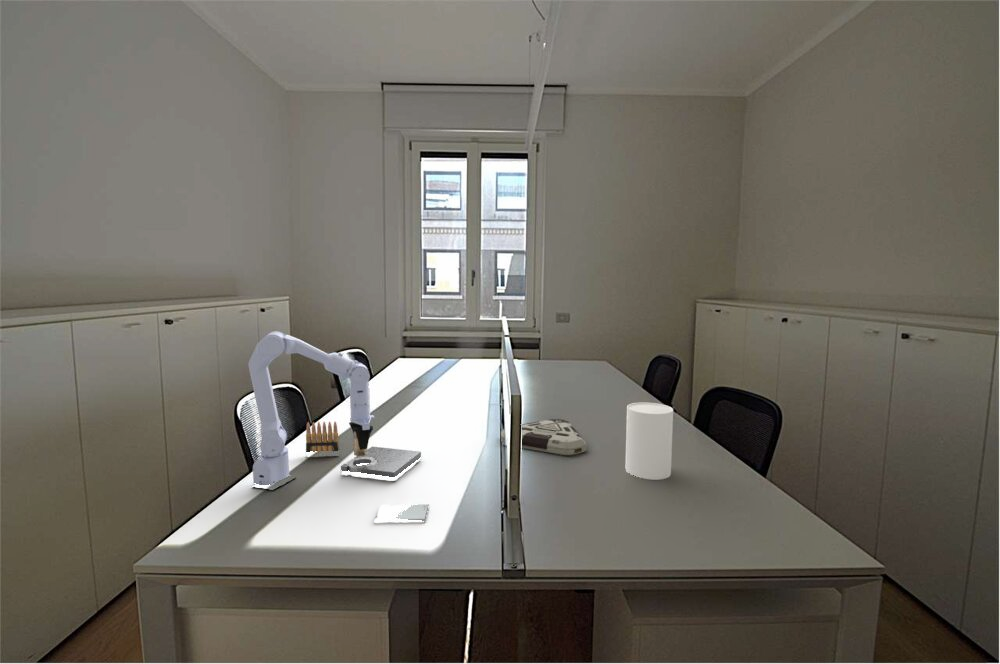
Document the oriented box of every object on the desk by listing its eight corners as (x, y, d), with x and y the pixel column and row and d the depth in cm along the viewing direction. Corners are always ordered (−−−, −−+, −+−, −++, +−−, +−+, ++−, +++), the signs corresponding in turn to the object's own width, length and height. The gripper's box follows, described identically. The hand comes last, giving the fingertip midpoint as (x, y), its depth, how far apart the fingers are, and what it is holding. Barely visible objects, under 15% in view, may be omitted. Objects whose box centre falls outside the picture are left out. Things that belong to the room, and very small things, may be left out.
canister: (669, 465, 156) (671, 403, 154) (672, 481, 143) (674, 415, 141) (625, 460, 159) (627, 401, 157) (624, 476, 146) (626, 412, 144)
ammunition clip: (305, 457, 163) (304, 422, 161) (307, 455, 164) (305, 421, 163) (338, 456, 164) (337, 422, 162) (339, 454, 165) (338, 420, 164)
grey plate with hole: (394, 482, 143) (394, 472, 142) (341, 475, 148) (340, 466, 147) (421, 460, 160) (420, 451, 160) (372, 455, 165) (372, 446, 165)
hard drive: (428, 503, 127) (381, 503, 127) (425, 518, 119) (373, 519, 119) (428, 509, 127) (381, 509, 127) (425, 525, 119) (374, 525, 119)
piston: (362, 456, 147) (362, 434, 147) (350, 455, 149) (350, 432, 148) (370, 452, 151) (370, 430, 151) (358, 450, 153) (358, 429, 152)
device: (492, 444, 177) (492, 431, 176) (524, 425, 200) (524, 413, 200) (579, 460, 161) (579, 445, 161) (602, 436, 185) (602, 424, 185)
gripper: (379, 407, 144) (380, 451, 146) (367, 396, 157) (368, 437, 158) (355, 410, 141) (356, 455, 142) (344, 399, 153) (346, 441, 155)
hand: (361, 446), depth 150 cm, fingers closed on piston, 4 cm apart
